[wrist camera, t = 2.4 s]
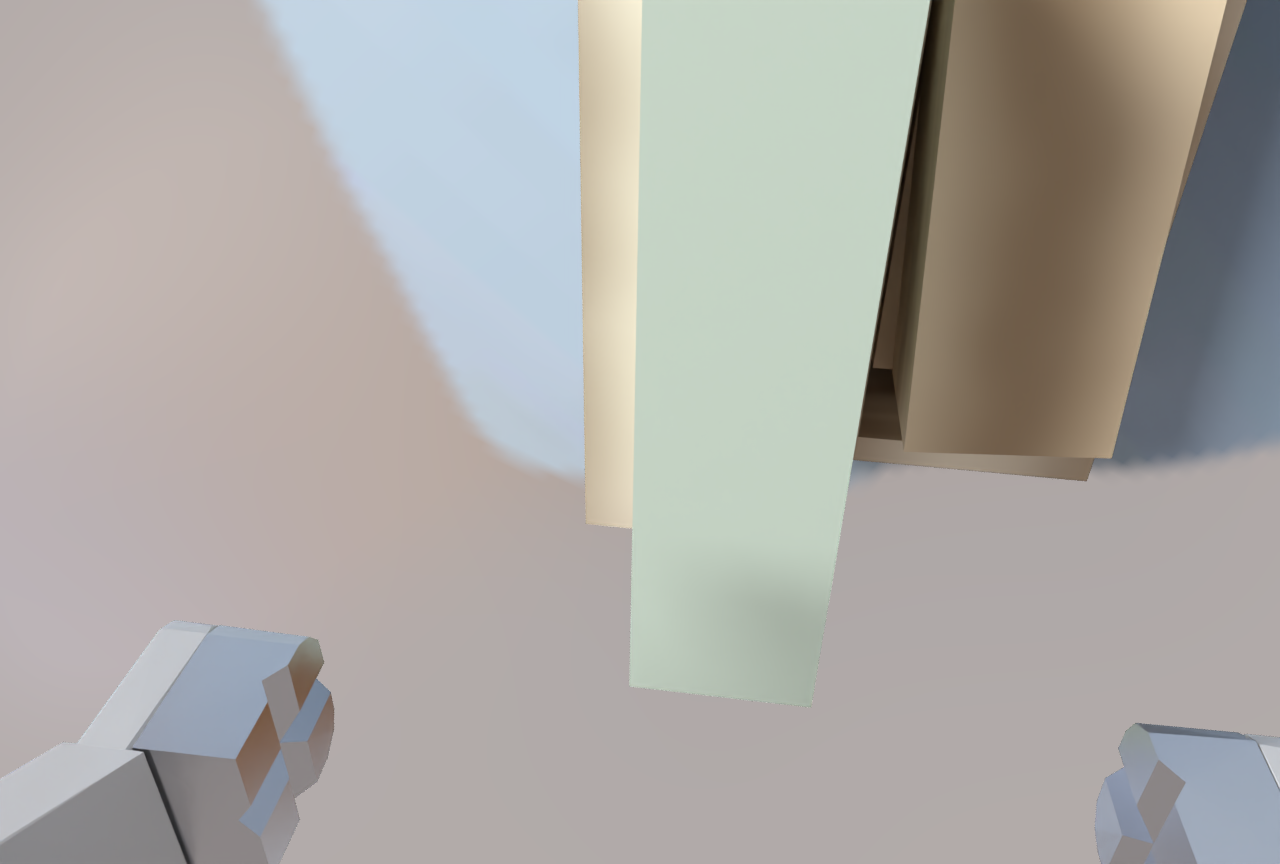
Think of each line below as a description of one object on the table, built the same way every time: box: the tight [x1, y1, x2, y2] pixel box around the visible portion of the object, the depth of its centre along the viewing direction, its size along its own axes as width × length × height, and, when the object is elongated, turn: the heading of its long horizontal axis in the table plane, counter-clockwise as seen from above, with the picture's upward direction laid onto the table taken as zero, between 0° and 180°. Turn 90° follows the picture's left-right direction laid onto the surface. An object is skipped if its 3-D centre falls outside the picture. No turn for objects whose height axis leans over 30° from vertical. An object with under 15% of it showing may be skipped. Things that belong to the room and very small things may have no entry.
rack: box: [578, 0, 1247, 528], centre depth 24 cm, size 13×18×10 cm
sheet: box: [630, 0, 930, 707], centre depth 22 cm, size 4×14×16 cm, turn 179°
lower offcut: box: [872, 45, 925, 369], centre depth 27 cm, size 5×13×4 cm, turn 179°
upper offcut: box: [892, 0, 1227, 458], centre depth 23 cm, size 5×13×4 cm, turn 3°
